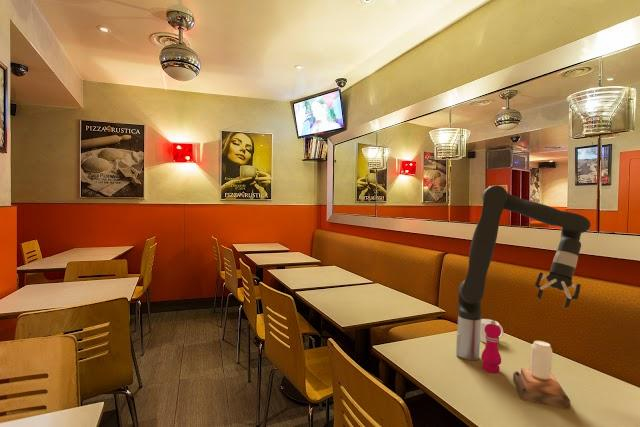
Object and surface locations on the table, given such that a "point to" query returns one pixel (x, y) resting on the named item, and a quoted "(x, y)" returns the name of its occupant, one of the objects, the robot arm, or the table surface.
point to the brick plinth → (540, 395)
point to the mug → (482, 332)
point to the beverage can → (541, 360)
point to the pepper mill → (491, 349)
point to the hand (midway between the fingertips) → (551, 303)
